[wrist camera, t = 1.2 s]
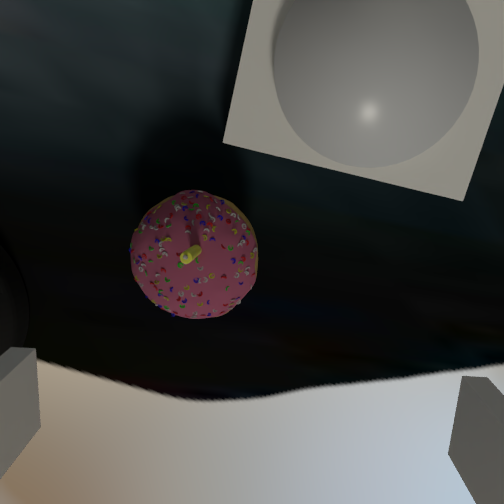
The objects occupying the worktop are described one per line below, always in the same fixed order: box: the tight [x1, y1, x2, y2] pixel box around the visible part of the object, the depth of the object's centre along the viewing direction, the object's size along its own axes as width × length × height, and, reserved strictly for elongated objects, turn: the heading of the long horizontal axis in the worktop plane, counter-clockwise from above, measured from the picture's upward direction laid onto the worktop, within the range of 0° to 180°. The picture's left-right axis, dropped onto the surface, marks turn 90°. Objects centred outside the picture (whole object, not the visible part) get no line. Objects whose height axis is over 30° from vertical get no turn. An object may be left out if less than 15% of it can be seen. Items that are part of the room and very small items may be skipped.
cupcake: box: [129, 190, 258, 319], centre depth 30 cm, size 9×8×12 cm
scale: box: [223, 0, 504, 201], centre depth 27 cm, size 16×18×8 cm
